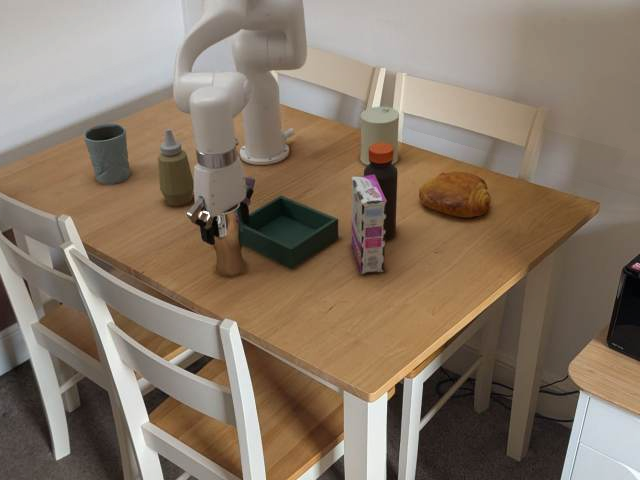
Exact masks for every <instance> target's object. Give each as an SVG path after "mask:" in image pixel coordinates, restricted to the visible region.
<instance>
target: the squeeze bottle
mask: <svg viewBox="0 0 640 480" xmlns="http://www.w3.org/2000/svg"><path fill="white" fill-rule="evenodd" d="M159 147H160V153H159V154H158V156H157V161H158V163H157V164H158V180H159V181H158V182H159V190H160V192H161V194H162V196H163V198H164V199H165V202H167V205H170V206H173V207H174V206H175V207H181V206H185V205H187V204H188V203H190V202H191V201H192V198H193V195H194V176H193V174H192V170H191V166H190V163H189V159H188V154H187V152H186V151H185V150H184V149H182V142H180V141H178V140H176V139H175V136H174V134H173V131H172V129H171V128H165V131H164V142H162V143H161V144H160V146H159Z"/></svg>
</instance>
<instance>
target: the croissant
mask: <svg viewBox="0 0 640 480" xmlns="http://www.w3.org/2000/svg"><path fill="white" fill-rule="evenodd" d="M418 197H419V200H420V202H421V203H422V205H423V206H425V207H427V208H428V209H430V210H435V211H437V212H439V213H443V214H446V215H449V216H453V217H457V218H459V217H461V218H464V219H465V218H474V217H479V216H481V215H483V214H485V212H487V210H488V208H489V206H490V204H491V198H490V193H489V191H488V184H487V182H486V181H485V180H484V179H483V178H482V177H480V176H479V175H476V174H473V173H469V172H466V171H456V170H455V171H454V170H453V171H449V172H445V171H442V172H441V173H440V174H438V175H436V176H435V177H434V178H431V179H430V180H428V181H426V182H424V183H423V184H422V185H421V186H420V187H419V189H418Z"/></svg>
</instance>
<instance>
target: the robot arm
mask: <svg viewBox="0 0 640 480" xmlns="http://www.w3.org/2000/svg"><path fill="white" fill-rule="evenodd" d="M201 1H202V2H201V14H200V18H199V19H198V21H197V22H195V24H194V25H192V27H190V29H189V30H188V31H187V33H186V34H185V36H184V37H183V39H182V40H181V43H180V44H179V46H178V48H177V50H176V54H175V58H174V69H173V83H172V84H173V85H172V94H173V95H172V96H173V101H174V104H175V106H176V108H177V109H178V110H179V111H180V112H182V113H184V114H190V117H191V124H192V131H193V139H194V147H195V153H196V160H197V163H196V164H195V165H194V168H193V181H194V189H193V195H194V203H193V205H192V206H191V208H190V209H189V210H188V211H187V212H186V216H187V218H188V219H189V220H190V222H191V223H193V224H194V225H197V226H199V232H200V238H201V240H202V242H203V243H206V244H208V245H209V246H211V247H212V246H213V245H214V244H215V239H214V231H213V228H212V227H211V224H212V221H213V219H214V217H215V216H218V215H219V214H220V213H223V212H225V211H226V210H228V209H230V208H232V207H233V206H235V205H237V204H238V203H240V208H241V213H242V219H243V223H245V224H249V223H250V217H249V214H250V209H249V206H250V205H251V203H252V201H251V198H252V197H253V195H254V188H255V184H256V178H253V177H252V176H245V172H244V168H243V163H242V161H243V162H245V163H247V164H249V165H255V166H266V165H273V164H276V163H279V162H282V161H283V160H285V159H286V158H287V157H288V156H289V154H290V147H289V145H288V144H287V142H286V141H287V140H288V139H289V138H291V137H293V136H294V135H296V131H295V130H294V129H293V128H292V127H290V128H288V129H286V130H284V129H283V128H282V115H281V101H280V86H279V84H278V81H277V79H276V77H275V76H274V75H273V74H272V72H273V71H275V72H276V71H295V70H296V71H297V70H301V68H303V67H304V66H305V64H306V62H307V58H308V57H307V56H308V43H307V42H308V41H307V31H306V20H305V19H306V17H305V7H304V0H201ZM233 35H234V36H233ZM231 36H233V38H232V41H231V54H232V58H233V61H234V66H235V69H236V70H235V71H192V70H193V67H194V65H195V62H196V60H197V59H198V57H199V56H200V55H201V54H202V53H203V52H204V51H206V50H207V49H209V48H210V47H212V46H214V45H216V44H217V43H220V42H221V41H223V40H226V39H227V38H229V37H231ZM271 71H272V72H271ZM239 114H241V117H242V126H243V127H242V129H243V137H244V138H243V139H244V145H242V146H241V148H240V149H239V154H238V151H237V150H238V149H237V146H239V143H240V142H239V140H238V139H237V138H236V133H235V132H236V131H235V125H234V123H235V121H234V119H235V117H237V116H238V115H239ZM207 215H208V217H207ZM205 218H206V219H205ZM204 220H205V221H204ZM213 247H214V246H213Z"/></svg>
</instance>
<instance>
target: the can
mask: <svg viewBox="0 0 640 480" xmlns="http://www.w3.org/2000/svg"><path fill="white" fill-rule="evenodd" d="M399 122H400V112H399V111H398V110H396V109H395V108H392V107H387V106H374V107H370V108H367V109H364V110H363V111H362V112H361V113H360V134H361V135H360V157H359V158H360V162H361V163H362V164H363V165H366V166H368V165H369V164H370V162H369V147H370V146H371V145H372V144H375V143H388V144H391V145H392V146H393V148H394V153H393V161H392V164H393V165H394V164H396V163H397V162H398V161H399V155H398V154H399V153H398V151H399V126H400V125H399V124H400V123H399Z"/></svg>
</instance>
